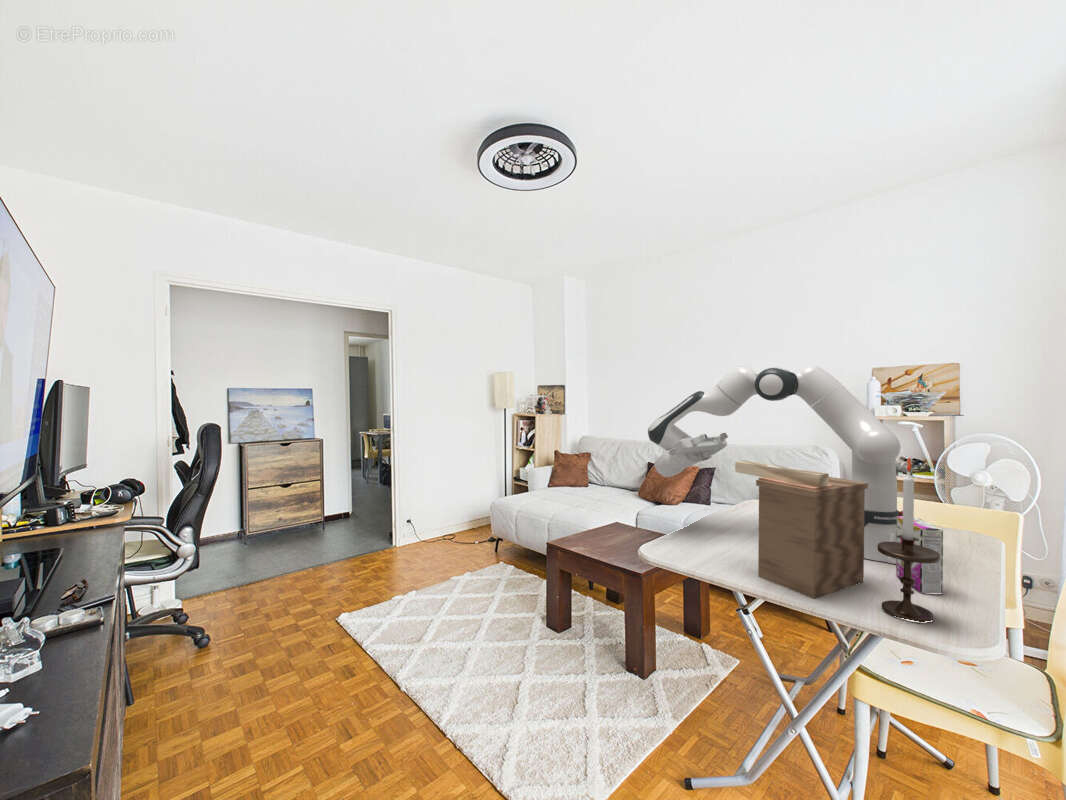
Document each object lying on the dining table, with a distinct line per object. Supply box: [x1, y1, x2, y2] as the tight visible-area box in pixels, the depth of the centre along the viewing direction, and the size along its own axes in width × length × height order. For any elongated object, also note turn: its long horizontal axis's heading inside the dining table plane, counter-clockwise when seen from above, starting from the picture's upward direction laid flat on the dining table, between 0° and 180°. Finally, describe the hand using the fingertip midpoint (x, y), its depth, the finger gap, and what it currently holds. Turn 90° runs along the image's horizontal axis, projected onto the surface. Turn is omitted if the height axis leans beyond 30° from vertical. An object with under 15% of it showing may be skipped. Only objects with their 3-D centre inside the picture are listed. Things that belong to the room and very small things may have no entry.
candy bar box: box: [895, 516, 944, 594], centre depth 118 cm, size 11×5×16 cm, turn 168°
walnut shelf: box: [755, 476, 868, 600], centre depth 122 cm, size 22×16×26 cm
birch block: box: [734, 460, 830, 487], centre depth 124 cm, size 4×24×3 cm, turn 27°
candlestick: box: [878, 457, 940, 622], centre depth 103 cm, size 11×11×35 cm
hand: (715, 435), depth 152 cm, fingers open, 8 cm apart
